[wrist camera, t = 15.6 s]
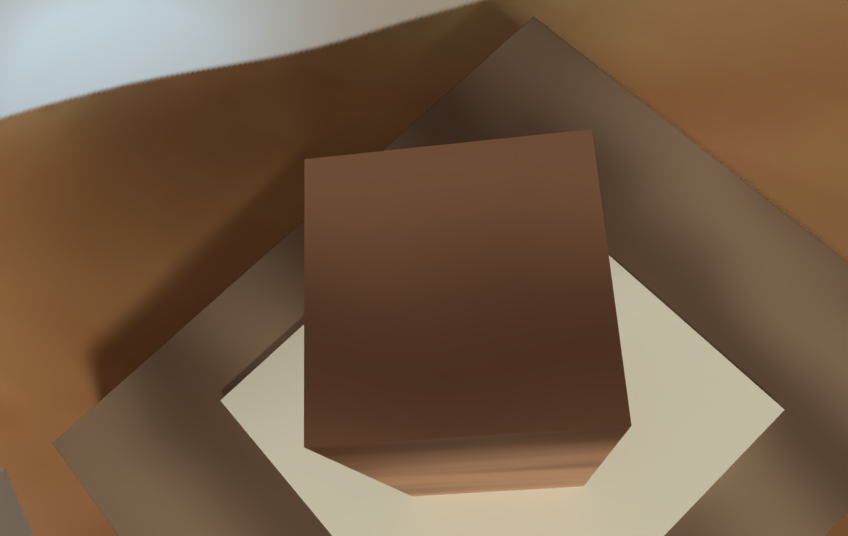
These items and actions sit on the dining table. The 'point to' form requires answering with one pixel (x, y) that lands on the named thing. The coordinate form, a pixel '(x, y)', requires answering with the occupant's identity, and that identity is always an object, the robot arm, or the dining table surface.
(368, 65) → the dining table surface
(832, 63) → the dining table surface
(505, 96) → the tray
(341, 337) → the cherry block
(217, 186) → the dining table surface
